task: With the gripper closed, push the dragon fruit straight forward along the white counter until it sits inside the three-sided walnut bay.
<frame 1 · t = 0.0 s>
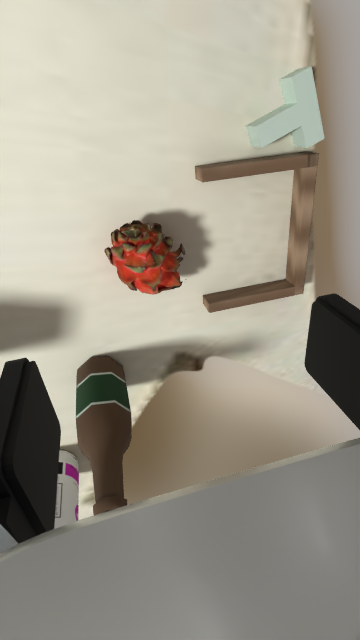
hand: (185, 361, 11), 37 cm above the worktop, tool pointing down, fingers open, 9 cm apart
bay: (245, 234, 50), on the worktop
t block: (276, 120, 43), on the worktop
beer bottle: (100, 372, 56), on the worktop
supplement can: (55, 462, 63), on the worktop
dragon fruit: (144, 251, 48), on the worktop
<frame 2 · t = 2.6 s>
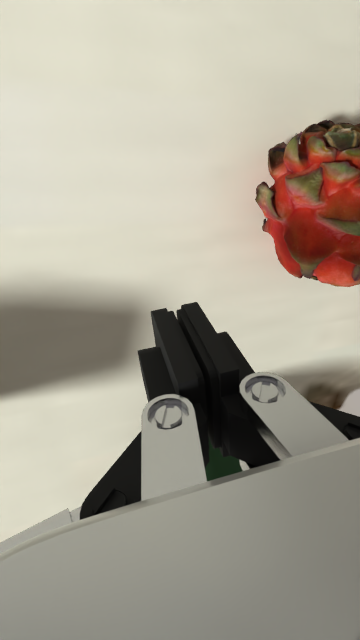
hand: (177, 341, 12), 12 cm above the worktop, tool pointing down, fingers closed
beer bottle: (186, 419, 33), on the worktop
dragon fruit: (304, 200, 24), on the worktop
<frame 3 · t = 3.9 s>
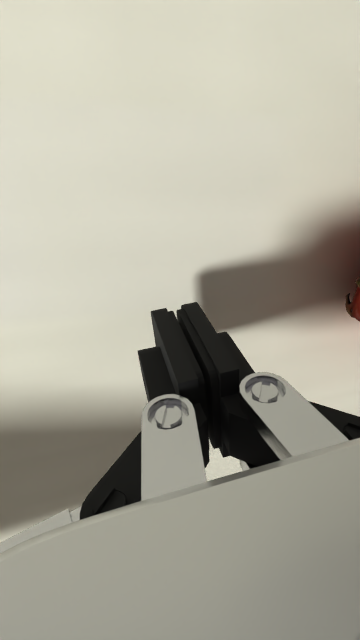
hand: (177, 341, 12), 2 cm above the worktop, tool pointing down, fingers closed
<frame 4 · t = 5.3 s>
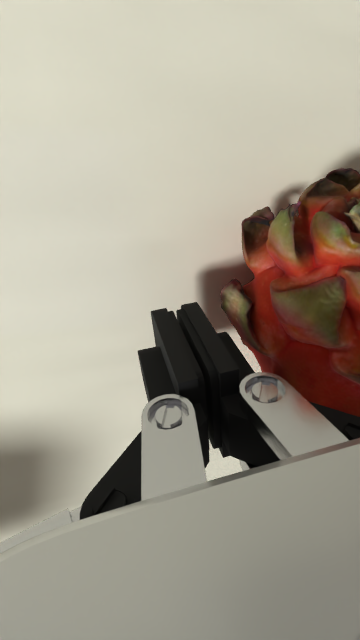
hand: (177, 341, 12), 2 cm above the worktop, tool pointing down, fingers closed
dragon fruit: (307, 279, 15), on the worktop, touching gripper
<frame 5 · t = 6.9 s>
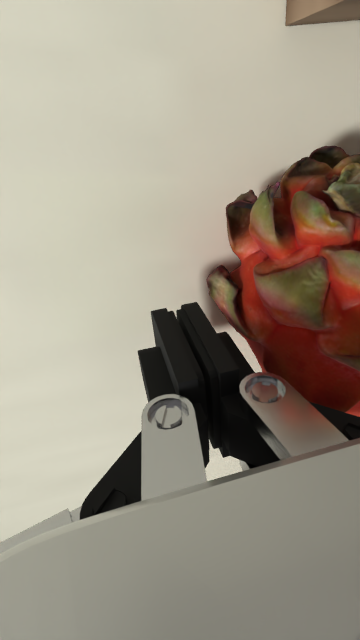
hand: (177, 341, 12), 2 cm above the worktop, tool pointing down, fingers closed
dragon fruit: (301, 262, 15), on the worktop, touching gripper
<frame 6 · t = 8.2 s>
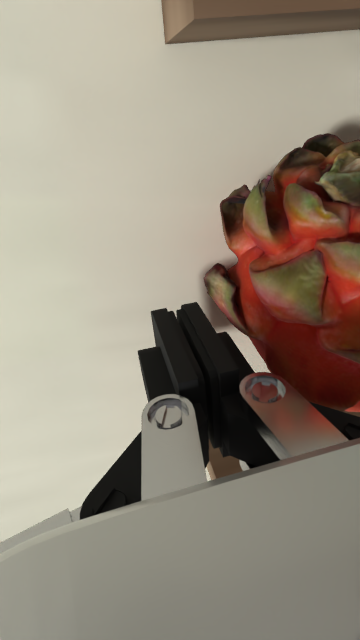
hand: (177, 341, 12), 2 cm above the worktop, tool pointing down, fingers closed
bay: (337, 270, 16), on the worktop
dragon fruit: (302, 254, 15), on the worktop, touching gripper
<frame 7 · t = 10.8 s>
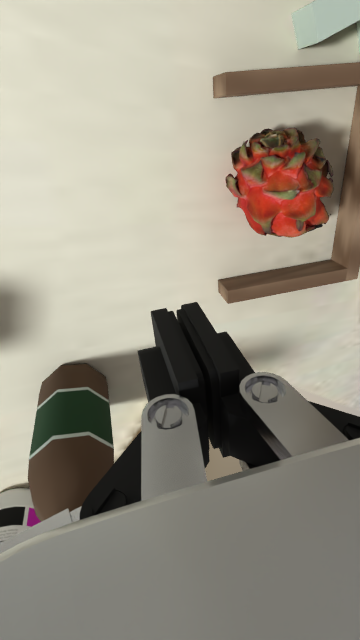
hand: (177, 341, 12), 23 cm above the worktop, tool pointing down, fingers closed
bay: (281, 191, 35), on the worktop
t block: (337, 8, 28), on the worktop
beer bottle: (75, 386, 41), on the worktop
supplement can: (18, 502, 48), on the worktop
dragon fruit: (265, 182, 34), on the worktop
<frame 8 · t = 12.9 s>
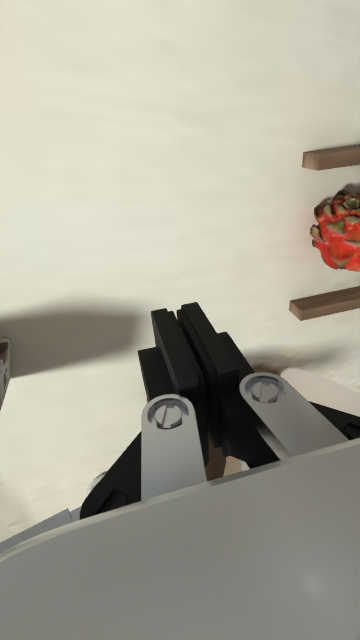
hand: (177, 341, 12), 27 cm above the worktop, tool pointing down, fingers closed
bay: (345, 232, 44), on the worktop
beer bottle: (170, 387, 50), on the worktop
dragon fruit: (333, 225, 43), on the worktop
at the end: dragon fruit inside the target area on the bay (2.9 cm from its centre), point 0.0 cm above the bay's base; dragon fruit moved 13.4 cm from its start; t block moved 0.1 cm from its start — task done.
